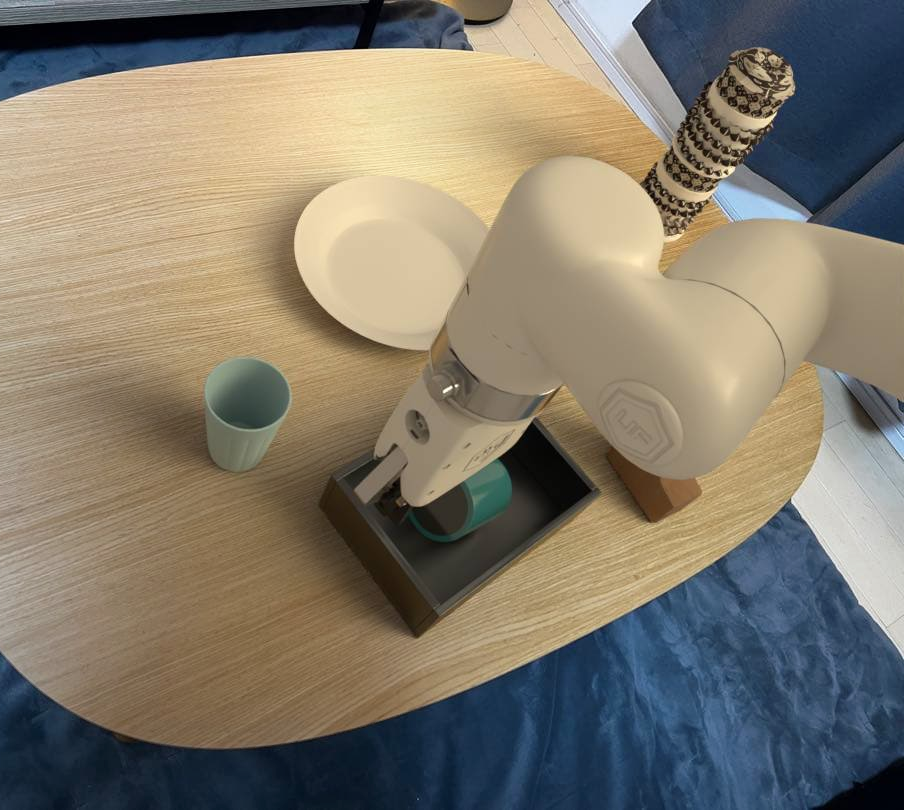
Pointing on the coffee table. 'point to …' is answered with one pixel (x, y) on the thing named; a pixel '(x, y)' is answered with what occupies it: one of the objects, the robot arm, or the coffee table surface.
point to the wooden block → (654, 488)
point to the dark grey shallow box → (471, 556)
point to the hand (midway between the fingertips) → (412, 490)
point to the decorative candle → (718, 135)
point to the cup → (244, 410)
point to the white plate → (387, 256)
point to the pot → (465, 505)
